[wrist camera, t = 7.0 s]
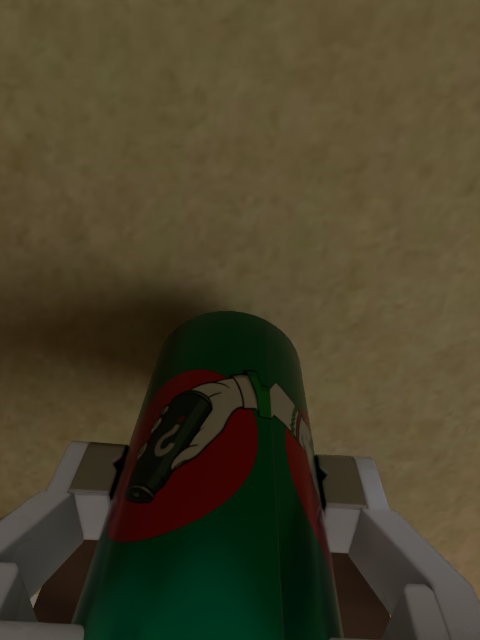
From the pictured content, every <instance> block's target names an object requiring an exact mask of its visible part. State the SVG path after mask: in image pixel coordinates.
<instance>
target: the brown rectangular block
mask: <svg viewBox="0 0 480 640" xmlns="http://www.w3.org/2000/svg"><path fill="white" fill-rule="evenodd" d="M97 542H98V540H83V543H82V544H81V545H80V546H79V547H78V548H77V549H76V550H75V551H74V552H73V553H72V554H71V555H70V557H69V558H68V559H67V560H66V561H65V562H64V563H63V564H62V565H61V566H60V567H59V568H58V569H57V570H56V572H55V573H54V574H53V575H52V576H51V577H50V578H49V579H48V580H47V581H46V582H45V583H44V584H43V585H42V588H41V590H40V593H39V595H38V598H37V600H36V603H35V605H34V608H33V610H34V612H35V615H36V618H37V621H38V622H42V623H61V624H71V622H72V619H73V616H74V613H75V610H76V607H77V604H78V600H79V597H80V594H81V591H82V588H83V585H84V582H85V579H86V576H87V573H88V570H89V567H90V564H91V561H92V558H93V554H94V551H95V548H96V545H97ZM330 553H331V559H332V565H333V572H334V578H335V584H336V590H337V596H338V603H339V609H340V615H341V621H342V627H343V633H344V638H350V639H370V640H381V638H382V636H383V634H384V632H385V629H386V627H387V625H388V623H389V620H390V614H389V612H388V611H387V609H386V608H385V606H384V605H383V603H382V602H381V601H380V599H379V598H378V596H377V595H376V594H375V592H374V591H373V589H372V588H371V587H370V585H369V584H368V582H367V581H366V580H365V578H364V577H363V575H362V574H361V573H360V571H359V570H358V568H357V567H356V566H355V564H354V563H353V561H352V560H351V558H350V557H349V556H348V553H336V552H330Z"/></svg>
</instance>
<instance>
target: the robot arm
mask: <svg viewBox="0 0 480 640" xmlns="http://www.w3.org/2000/svg"><path fill="white" fill-rule="evenodd" d="M128 447H129V446H128V445H123V444H110V443H98V442H81V441H72V442H71V443H70V444H69V445H68V446H67V448H66V450H65V452H64V455H63V457H62V459H61V461H60V463H59V465H58V467H57V469H56V471H55V473H54V475H53V477H52V479H51V481H50V483H49V485H48V487H47V489H46V491H45V492H44V491H39V492H38V493H37V494H35V495H34V496H33V497H31V498H30V499H29V500H27V501H26V502H25V503H23V504H22V505H21V506H19V507H18V508H17V509H15V510H14V511H13V512H11V513H10V514H9V515H7V516H6V517H5V518H3V519H2V520H1V521H0V640H83V638H84V628H83V626H82V625H79V624H61V623H42V622H38V621H37V618H36V615H35V612H34V610H33V607H32V604H31V601H30V598H31V597H32V596H33V595H34V594H35V593H36V592H37V591H38V590H39V589H40V588H41V587H42V585H43V584H44V583H45V582H46V581H47V580H48V579H49V578H50V577H51V576H52V575H53V574H54V573H55V572H56V570H57V569H58V568H59V567H60V566H61V565H62V564H63V563H64V562H65V561H66V560H67V559H68V558H69V557H70V555H71V554H72V553H73V552H74V551H75V550H76V549H77V548H78V547H79V546H80V545H81V544H82V543H83V540H98V539H99V536H100V533H101V530H102V527H103V524H104V521H105V518H106V515H107V512H108V508H109V505H110V502H111V499H112V496H113V493H114V490H115V487H116V484H117V481H118V478H119V475H120V472H121V469H122V465H123V462H124V459H125V456H126V453H127V450H128ZM315 460H316V466H317V472H318V479H319V485H320V491H321V497H322V503H323V510H324V516H325V522H326V528H327V534H328V541H329V547H330V552H336V553H348V556H349V557H350V558H351V560H352V561H353V563H354V564H355V566H356V567H357V568H358V570H359V571H360V573H361V574H362V575H363V577H364V578H365V580H366V581H367V582H368V584H369V585H370V587H371V588H372V589H373V591H374V592H375V594H376V595H377V596H378V598H379V599H380V601H381V602H382V603H383V605H384V606H385V608H386V609H387V611H388V612H389V613H390V615H391V618H390V620H389V623H388V625H387V627H386V629H385V632H384V634H383V636H382V638H381V640H480V603H479V600H478V598H477V595H476V593H475V591H474V588H473V586H472V585H471V584H470V583H469V582H468V581H467V580H466V579H465V578H464V577H463V576H462V575H461V574H460V573H459V572H458V571H457V570H456V569H455V568H454V567H453V566H452V565H451V564H450V563H449V562H448V561H447V560H445V559H444V558H443V557H442V556H441V555H440V554H439V553H438V552H437V551H436V550H435V549H434V548H433V547H432V546H431V545H430V544H429V543H428V542H427V541H426V540H425V539H424V538H423V537H422V536H421V535H420V534H419V533H418V532H417V531H416V530H415V529H414V528H413V527H412V526H411V525H410V524H409V523H408V522H407V521H406V520H405V519H404V518H403V517H402V516H401V515H400V514H399V513H397V512H396V511H395V510H390V509H389V506H388V503H387V500H386V497H385V494H384V491H383V487H382V484H381V481H380V478H379V475H378V472H377V469H376V465H375V462H374V460H373V459H372V457H358V456H353V457H352V456H339V455H315ZM329 640H370V639H350V638H330V639H329Z"/></svg>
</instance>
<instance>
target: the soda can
mask: <svg viewBox="0 0 480 640" xmlns="http://www.w3.org/2000/svg"><path fill="white" fill-rule="evenodd" d="M71 624H79V625H82V626H83V628H84V638H83V640H329V639H330V638H344V633H343V627H342V621H341V615H340V609H339V603H338V596H337V590H336V584H335V578H334V572H333V565H332V559H331V553H330V547H329V541H328V534H327V528H326V522H325V516H324V510H323V503H322V497H321V491H320V485H319V479H318V472H317V466H316V460H315V454H314V448H313V441H312V435H311V429H310V423H309V417H308V411H307V404H306V398H305V392H304V386H303V380H302V373H301V367H300V361H299V357H298V354H297V352H296V349H295V348H294V346H293V344H292V342H291V341H290V340H289V339H288V337H287V336H286V335H285V334H284V333H283V332H282V331H281V330H279V329H278V328H277V327H276V326H274V325H273V324H271V323H269V322H268V321H266V320H264V319H262V318H259V317H257V316H254V315H250V314H247V313H242V312H234V311H218V312H212V313H206V314H203V315H200V316H196V317H194V318H192V319H190V320H188V321H186V322H184V323H183V324H181V325H180V326H179V327H177V328H176V329H175V330H174V331H173V332H172V333H171V334H170V335H169V336H168V338H167V339H166V340H165V342H164V343H163V345H162V348H161V350H160V352H159V355H158V358H157V361H156V364H155V367H154V370H153V373H152V376H151V380H150V383H149V386H148V389H147V392H146V395H145V398H144V401H143V404H142V407H141V410H140V413H139V416H138V419H137V423H136V426H135V429H134V432H133V435H132V438H131V441H130V444H129V447H128V450H127V453H126V456H125V459H124V462H123V465H122V469H121V472H120V475H119V478H118V481H117V484H116V487H115V490H114V493H113V496H112V499H111V502H110V505H109V508H108V512H107V515H106V518H105V521H104V524H103V527H102V530H101V533H100V536H99V539H98V542H97V545H96V548H95V551H94V554H93V558H92V561H91V564H90V567H89V570H88V573H87V576H86V579H85V582H84V585H83V588H82V591H81V594H80V597H79V600H78V604H77V607H76V610H75V613H74V616H73V619H72V622H71Z"/></svg>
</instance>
